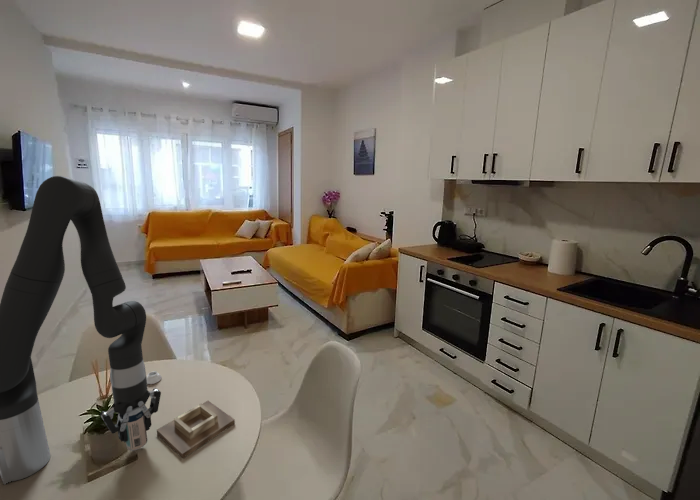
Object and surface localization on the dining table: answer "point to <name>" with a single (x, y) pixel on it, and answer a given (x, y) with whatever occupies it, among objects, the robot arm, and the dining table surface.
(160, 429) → the board
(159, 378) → the white rounded piece
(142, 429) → the beer can
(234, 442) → the dining table surface
